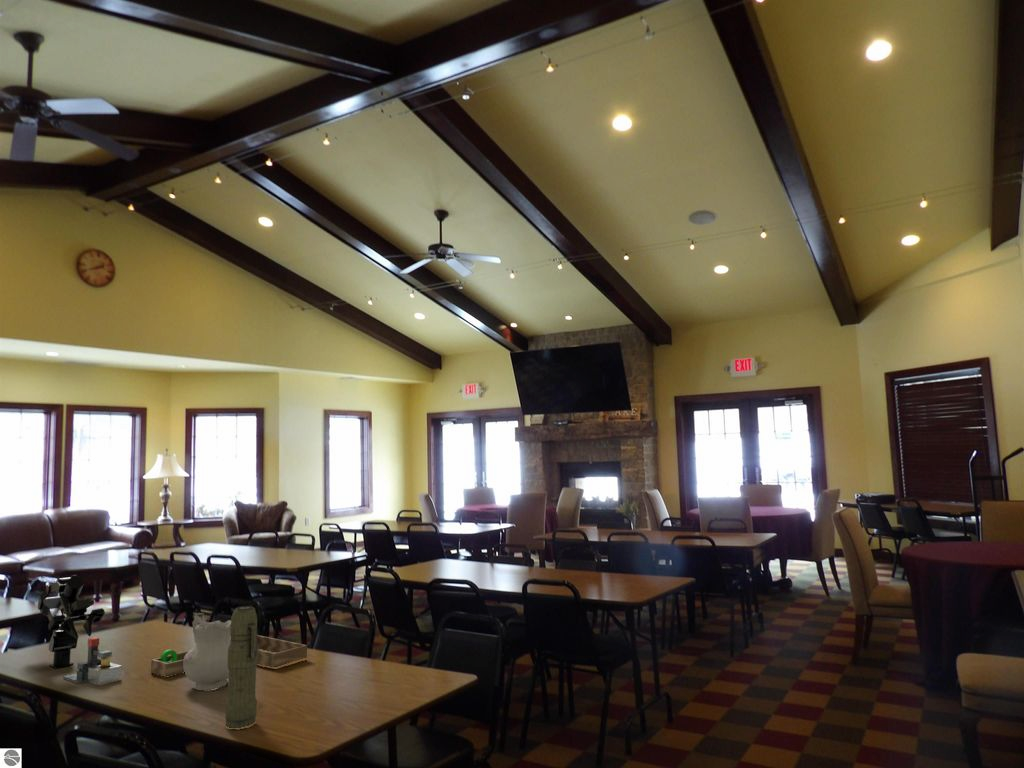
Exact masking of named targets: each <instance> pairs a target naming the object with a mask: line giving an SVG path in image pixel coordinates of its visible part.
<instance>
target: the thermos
mask: <svg viewBox="0 0 1024 768" xmlns="http://www.w3.org/2000/svg"><path fill="white" fill-rule="evenodd" d="M230 618H231V619H230V620H231V634H230V645H229V648H228V664H227V666H228V669H229V678H228V684H227V689H228V691H227V700H226V702H225V715H224V716H225V727H226V726H227V727H229V728H241V727H245V726H249V725H251V724H253V723H254V722H255V721H256V717H257V711H258V710H257V709H258V707H257V705H258V704H257V703H258V701H257V700H258V699H257V697H256V685H257V684H256V683H257V679H256V678H257V667H258V666H257V664H258V644H257V635H258V614H257V612H256V608H255V607H253V606H252V605H242V606H238V607H236V608H234V610H233V612H232V615H231V617H230Z"/></svg>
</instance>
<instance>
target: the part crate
mask: <svg viewBox="0 0 1024 768" xmlns="http://www.w3.org/2000/svg"><path fill="white" fill-rule="evenodd" d="M189 651H190V650H187V651H182V652H179V653H177V661H175V662H171V663H166V662H162V661H160V658H161V657H157V658H154V659H151V664H150V665H151V667H150V668H151V669H150V674H152V673H154V674H153V675H155V674H158V675H157V676H159V675H162V676H166V677H167V676H171V675H175V674H179V673H183V672H184V667H183V660H184V657H185V655H186V654H187V653H188V652H189ZM171 657H172V656H171V655H168V656H167V658H166V661H169V660H170V659H171ZM183 674H184V673H183ZM179 675H180V674H179ZM162 676H161V677H162ZM175 676H176V675H175ZM171 677H172V676H171Z"/></svg>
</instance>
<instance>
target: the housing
mask: <svg viewBox="0 0 1024 768" xmlns="http://www.w3.org/2000/svg"><path fill="white" fill-rule="evenodd" d="M122 668H123V666H122V665H121V664H118V663H114V662H110V667H108V668H101V665H98V666H94V667H89V669H88V682H87V683H89V682H90V683H89V684H93V685H96V686H98V685H99V686H103V685H107V684H111V683H115V682H118V680H119V681H122V673H123V672H122V670H123V669H122ZM114 681H115V682H114ZM110 682H111V683H110Z"/></svg>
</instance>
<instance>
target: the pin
mask: <svg viewBox="0 0 1024 768" xmlns="http://www.w3.org/2000/svg"><path fill="white" fill-rule="evenodd" d="M110 663H111V657H108V658H103V659H102V658H101V668H108V667H110Z"/></svg>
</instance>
